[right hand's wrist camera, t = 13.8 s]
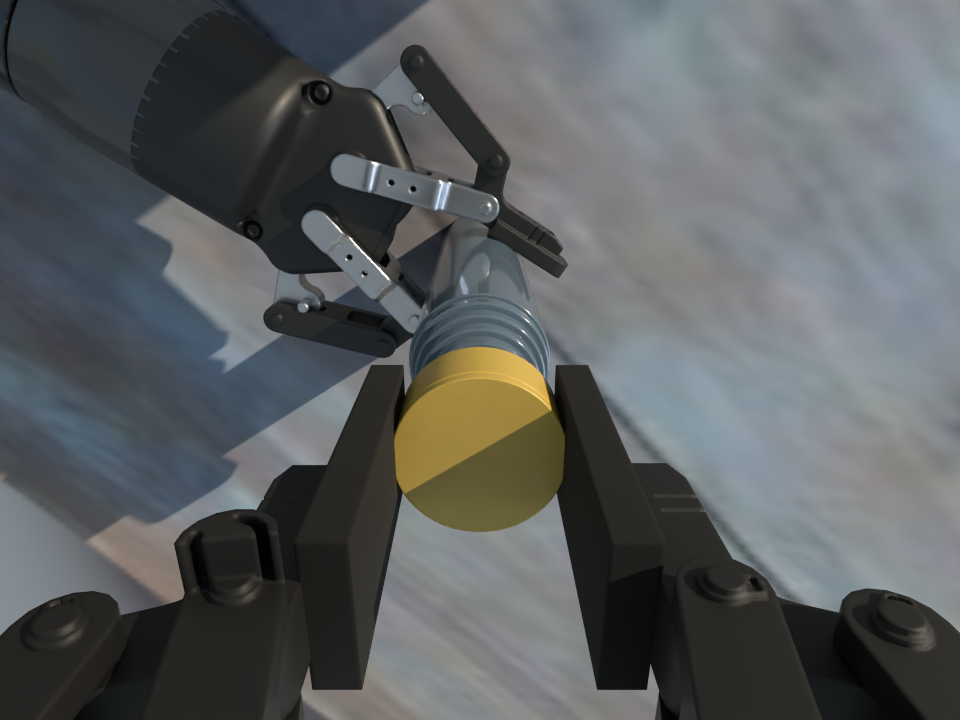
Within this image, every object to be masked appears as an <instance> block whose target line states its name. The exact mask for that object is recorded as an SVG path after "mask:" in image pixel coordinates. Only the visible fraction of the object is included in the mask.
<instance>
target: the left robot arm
mask: <svg viewBox="0 0 960 720" xmlns="http://www.w3.org/2000/svg"><path fill="white" fill-rule="evenodd" d="M0 88H2V89H4V90H5V91H7V92H9V93H10V94H12V95H14V96H16V97H17V98H19V99H21V100H22V101H24V102H26V103H28V104H29V105H31V106H32V107H34V108H35V109H37V110H39V111H40V112H42V113H43V114H44V115H46V116H47V117H49V118H50V119H51V120H52V121H54V122H55V123H56V124H58V125H59V126H60V127H61V128H63V129H64V130H65V131H67V132H68V133H70V134H71V135H72V136H74V137H75V138H76V139H78V140H79V141H81V142H82V143H84V144H86V145H87V146H89V147H90V148H92V149H94V150H95V151H97V152H99V153H100V154H102V155H104V156H106V157H107V158H109V159H111V160H112V161H114V162H116V163H118V164H119V165H121V166H123V167H124V168H126V169H128V170H130V171H131V172H133V173H135V174H136V175H138V176H140V177H141V178H143V179H145V180H147V181H148V182H150V183H152V184H154V185H155V186H157V187H159V188H160V189H162V190H164V191H166V192H167V193H169V194H171V195H172V196H174V197H176V198H177V199H179V200H181V201H183V202H184V203H186V204H188V205H189V206H191V207H193V208H195V209H196V210H198V211H200V212H201V213H203V214H205V215H207V216H208V217H210V218H212V219H213V220H215V221H217V222H218V223H220V224H222V225H224V226H225V227H227V228H229V229H230V230H232V231H234V232H236V233H238V234H240V235H241V236H243V237H245V238H247V239H249V240H251V241H253V242H254V243H256V244H257V245H258V246H259V247H260V248H261V249H262V250H263V251H264V253H265V254H266V255H267V257H268V258H269V260H270V261H271V263H272V264H273V265H274V266H275V267H276V268H277V269H279V271H278V277H277V284H276V291H275V297H274V303H273V305H272V306H270V307H269V308H268V309H267V310H266V311H265V313H264V317H263V318H264V323H265V325H266V326H267V327H268V328H269V329H270V330H272V331H274V332H278V333H282V334H286V335H290V336H294V337H298V338H303V339H307V340H311V341H315V342H319V343H323V344H327V345H331V346H335V347H339V348H343V349H347V350H351V351H356V352H360V353H364V354H368V355H372V356H376V357H380V358H386V357H389V356H391V355H392V354H393V353H394V351H395V349H396V348H398V347H399V346H400V345H402V344H403V343H404V342H406V341H407V340H408V339H410V338H412V337H413V335H414V332H415V329H416V326H417V323H418V319H419V316H420V313H421V310H422V306H423V303H424V300H425V297H426V294H425V293H424V292H423V291H422V290H421V289H420V288H419V286H418V285H417V284H416V283H415V282H414V281H413V280H412V279H411V278H410V277H409V276H408V275H407V274H406V272H405V271H404V269H403V267H402V265H401V264H400V263H399V261H398V260H397V259H396V258H395V257H394V256H393V255H392V254H391V253H390V252H389V251H388V250H387V249H388V248H389V246H390V244H391V243H392V241H393V238H394V234H395V230H396V226H397V224H398V223H399V222H400V221H401V220H402V219H403V218H404V217H405V216H406V215H407V214H408V212H409V211H410V210H411V208H412V206H413V205H416V206H419V207H423V208H426V209H430V210H434V211H442V212H446V213H450V214H453V215H457V216H460V217H464V218H467V219H471V220H474V221H477V222H480V223H482V224H483V225H485V226H486V227H488V234H489V235H490V236H492V237H493V238H495V239H496V240H498V241H500V242H502V243H503V244H505V245H507V246H508V247H509V248H511V249H512V250H514V251H515V252H517V253H518V254H520V255H521V256H523V257H525V258H526V259H528V260H529V261H531V262H532V263H534V264H536V265H537V266H539V267H540V268H542V269H543V270H545V271H547V272H548V273H550V274H551V275H553V276H555V277H557V278H559V277H560V276H561V274H562V273H563V271H564V270H565V269H566V267H567V266H568V264H567V262H566V261H565V259H564V258H563V257H562V256H560V255H559V254H560V253H561V251H562V250H563V247H562V245H561V244H560V242H559V241H558V239H557V238H556V236H555V235H554V233H553V232H551V231H550V230H548V229H547V228H545V227H544V226H542V225H541V224H539V223H538V222H536V221H534V220H533V219H531V218H530V217H528V216H527V215H525V214H524V213H522V212H521V211H519V210H518V209H516V208H515V207H513V206H512V205H510V204H509V203H508V202H507V201H506V200H505V199H504V197H503V187H504V183H505V178H506V174H507V171H508V169H509V167H510V157H509V154H508V153H507V151H506V150H505V149H504V147H503V146H502V145H501V144H500V142H499V141H498V140H497V139H496V137H495V136H494V135H493V133H492V132H491V131H490V130H489V128H488V127H487V126H486V125H485V123H484V122H483V121H482V120H481V118H480V117H479V116H478V114H477V113H476V112H475V111H474V109H473V108H472V107H471V106H470V104H469V103H468V102H467V100H466V99H465V98H464V97H463V95H462V94H461V93H460V92H459V90H458V89H457V88H456V87H455V85H454V84H453V83H452V81H451V80H450V79H449V78H448V76H447V75H446V74H445V73H444V71H443V70H442V69H441V68H440V66H439V65H438V64H437V62H436V61H435V60H434V59H433V57H432V56H431V55H430V54H429V52H428V51H427V50H426V49H425V48H424V47H422V46H419V45H411V46H409V47H407V48H406V49H405V50H404V51H403V53H402V55H401V59H400V64H399V65H397V66H396V67H395V68H394V69H393V70H392V71H391V72H390V73H389V74H388V75H387V76H386V77H385V78H384V79H383V80H382V81H381V82H380V83H379V84H378V85H377V86H376V87H375V88H374V89H373V90H372V91H371V90H367V89H364V88H351V87H346V86H343V85H341V84H339V83H337V82H335V81H334V80H332V79H331V78H329V77H328V76H326V75H325V74H323V73H322V72H320V71H318V70H317V69H315V68H314V67H312V66H311V65H309V64H308V63H306V62H305V61H303V60H302V59H300V58H299V57H297V56H296V55H294V54H293V53H291V52H290V51H288V50H286V49H285V48H283V47H282V46H280V45H279V44H277V43H276V42H274V41H273V40H271V39H270V38H268V37H267V36H265V35H264V34H262V33H261V32H259V31H258V30H256V29H255V28H253V27H252V26H250V25H249V24H247V23H246V22H244V21H242V20H241V19H239V18H238V17H236V16H235V15H233V14H232V13H230V12H229V11H227V10H226V9H225V8H224V7H223V6H222V5H221V4H220V3H219V2H218V1H217V0H0ZM395 106H404V107H406V108H407V109H408V110H409V111H411V112H412V113H414V114H417V115H426V114H428V113H430V112H431V111H432V110H434V111H435V112H436V113H437V114H438V116H439V117H440V118H441V119H442V121H443V122H444V123H445V124H446V126H447V127H448V128H449V129H450V131H451V132H452V133H453V134H454V135H455V137H456V138H457V139H458V140H459V142H460V143H461V144H462V145H463V147H464V148H465V149H466V150H467V152H468V153H469V154H470V155H471V156H472V158H473V159H474V160H475V161H476V163H477V164H478V169H477V174H476V179H475V183H474V184H472V183H469V182H466V181H462V180H459V179H455V178H452V177H450V176H448V175H445V174H442V173H439V172H435V171H432V170H429V169H425V168H422V167H418V166H415V165H413V163H412V161H411V158H410V156H409V154H408V151H407V149H406V146H405V144H404V142H403V139H402V137H401V135H400V132H399V130H398V127H397V125H396V123H395V120H394V118H393V115H392V113H391V111H390V109H392V108H393V107H395ZM364 270H365V271H367V272H368V273H365V272H364ZM343 271H344V272H345V273H346V274H347V275H348V276H349V277H350V278H351V279H352V280H353V281H354V282H355V283H356V284H357V285H358V286H359V287H360V288H361V289H362V290H363V291H364V292H365V293H366V295H367V296H368V297H370V298H371V299H372V300H374V301H376V302H379V303H380V304H381V305H382V306H383V307H384V308H385V309H386V310H387V311H388V312H389V313H390V315H389V316H385V315H381V314H377V313H373V312H369V311H366V310H362V309H358V308H354V307H350V306H346V305H342V304H338V303H334V302H330V301H326V300H325V296H324V294H323V292H322V291H321V290H320V289H319V288H318V287H316V286H313V285H311V284H310V283H309V282H308V281H307V280H306V278H305V275H304V274H311V273H327V272H343Z"/></svg>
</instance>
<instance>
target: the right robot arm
mask: <svg viewBox="0 0 960 720" xmlns="http://www.w3.org/2000/svg"><path fill="white" fill-rule="evenodd" d="M554 396H555V399H556V403H557V407H558V410H559V414H560V418H561V422H562V425H563V429H564V433H565V450H564V467H563V481H562V483H561V485H560V487H559V489H558V491H557V497H558V501H559V506H560V511H561V516H562V521H563V526H564V531H565V536H566V540H567V545H568V550H569V555H570V560H571V565H572V570H573V574H574V579H575V584H576V589H577V594H578V599H579V604H580V608H581V613H582V618H583V623H584V628H585V633H586V638H587V642H588V647H589V652H590V657H591V662H592V667H593V672H594V676H595V681H596V686H597V690H647V685H648V677H649V670H650V663H651V666H652V669H653V673H654V676H655V679H656V682H657V685H658V688H659V696H658V703H657V710H656V717H655V720H960V633H959V632H958V631H957V630H956V629H955V628H954V627H953V626H952V625H951V624H950V623H949V622H948V621H947V620H945V619H944V618H943V617H941V616H940V615H939V614H938V613H936V612H935V611H934V610H932V609H931V608H929V607H927V606H925V605H923V604H921V603H920V602H918V601H916V600H914V599H912V598H910V597H907V596H904V595H901V594H897V593H894V592H891V591H887V590H878V589H862V590H857V591H853V592H850V593H849V594H848V595H847V596H846V597H845V598H844V599H843V600H842V603H841V607H840V611H839V613H838V612H833V611H829V610H824V609H820V608H816V607H811V606H807V605H802V604H798V603H795V602H791V601H788V600H785V599H781V598H779V597H777V596H776V593H775V591H774V590H773V588H772V587H771V585H770V584H769V582H768V581H767V579H765V578H764V577H763V576H762V575H761V574H759V573H758V572H757V571H756V570H754V569H753V568H751V567H749V566H747V565H745V564H743V563H741V562H738V561H736V560H733V559H732V557H731V555H730V554H729V552H728V550H727V549H726V547H725V545H724V543H723V542H722V540H721V538H720V536H719V535H718V533H717V531H716V529H715V528H714V526H713V524H712V523H711V521H710V519H709V517H708V516H707V514H706V512H704V511H703V507H702V505H701V503H700V502H699V500H698V498H696V497H695V493H694V491H693V490H692V488H691V486H690V484H689V483H688V481H687V479H686V478H685V477H684V476H683V475H681V474H680V473H679V472H677V471H676V470H675V469H673V468H672V467H671V466H669V465H668V464H667V463H631V461H630V459H629V457H628V455H627V452H626V450H625V448H624V446H623V443H622V441H621V439H620V436H619V434H618V432H617V430H616V427H615V425H614V423H613V421H612V418H611V416H610V414H609V412H608V409H607V407H606V405H605V403H604V400H603V398H602V396H601V394H600V391H599V389H598V387H597V384H596V382H595V380H594V378H593V375H592V373H591V371H590V369H589V366H588V365H556V374H555V394H554ZM404 397H405V388H404V368H403V365H371V367H370V369H369V372H368V374H367V376H366V378H365V381H364V383H363V385H362V387H361V390H360V392H359V394H358V396H357V399H356V401H355V403H354V405H353V408H352V410H351V412H350V414H349V417H348V419H347V421H346V424H345V426H344V428H343V430H342V433H341V435H340V437H339V439H338V442H337V444H336V446H335V448H334V451H333V453H332V455H331V457H330V460H329V462H328V464H327V465H293V466H291V467H290V468H289V469H287V470H286V471H285V472H283V473H282V474H281V475H279V476H278V477H277V478H276V479H274V480H273V482H272V484H271V486H270V487H269V489H268V491H267V493H266V494H265V496H264V500H262V501H261V503H260V505H259V507H258V508H257V510H254V509H235V510H230V511H225V512H220V513H216V514H213V515H211V516H209V517H206V518H204V519H201V520H199V521H197V522H196V523H194V524H193V525H192V526H190V527H189V528H187V529H186V530H184V531H183V532H182V534H181V535H180V536H179V538H178V539H177V540H176V542H175V543H174V546H175V551H176V555H177V560H178V564H179V569H180V573H181V578H182V582H183V587H184V592H185V594H184V597H183V599H181V600H179V601H177V602H173V603H170V604H167V605H163V606H160V607H155V608H151V609H146V610H142V611H138V612H133V613H129V614H124V615H121V614H120V610H119V607H118V603H117V602H116V601H115V600H114V599H113V598H112V597H111V596H110V595H108V594H104V593H100V592H95V591H89V592H78V593H71V594H68V595H65V596H62V597H59V598H55V599H52V600H50V601H48V602H46V603H44V604H42V605H40V606H38V607H36V608H34V609H32V610H30V611H28V612H27V613H26V614H25V615H23V616H22V617H21V618H20V619H18V620H17V621H16V622H15V623H13V624H12V625H11V626H10V627H9V628H8V629H7V630H6V631H5V632H4V633H3V634H2V635H1V636H0V720H304V710H303V703H302V696H301V689H302V686H303V683H304V680H305V676H306V673H307V670H308V667H309V668H310V675H311V682H312V690H362V688H363V683H364V678H365V673H366V668H367V663H368V658H369V654H370V649H371V644H372V639H373V634H374V629H375V624H376V620H377V615H378V610H379V605H380V600H381V595H382V590H383V586H384V581H385V576H386V571H387V566H388V561H389V556H390V552H391V547H392V542H393V537H394V532H395V527H396V522H397V518H398V513H399V508H400V503H401V498H402V493H403V492H402V490H401V488H400V487H399V485H398V483H397V479H396V462H395V445H394V433H395V430H396V426H397V422H398V419H399V415H400V412H401V408H402V404H403V401H404Z"/></svg>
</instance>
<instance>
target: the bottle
mask: <svg viewBox="0 0 960 720" xmlns="http://www.w3.org/2000/svg"><path fill="white" fill-rule="evenodd" d="M470 347H489V348H496V349H500V350H505V351H507V352H510V353H513V354H515V355H517V356H519V357H521V358H523V359H525V360H526V361H527V362H529V363H530V364H532V365H533V366H534V367H535V368H536V369H537V370H538V371H539V372H540V373H541V374H542V375H543V377H544V378H545V379H546V380H547V382H548V376H549V368H550V349H549V345H548V341H547V337H546V334H545V331H544V328H543V324H542V321H541V318H540V315H539V311H538V308H537V305H536V302H535V299H534V295H533V292H532V289H531V286H530V282H529V279H528V276H527V273H526V269H525V266H524V263H523V260H522V257H521V255H520V254H518V253H517V252H515V251H514V250H512V249H511V248H509V247H508V246H507V245H505V244H503V243H502V242H500V241H498V240H496V239H495V238H493V237H492V236H490V235H489V234H488V227H486V226H485V225H483V224H482V223H480V222H477V221H474V220H471V219H467V218H464V217H461V218H459V219H458V220H456V221H455V222H454V223H453V224H452V225H451V226H450V227H449V229H448V230H447V232H446V234H445V236H444V239H443V242H442V245H441V249H440V252H439V255H438V258H437V261H436V265H435V268H434V271H433V274H432V278H431V281H430V284H429V287H428V290H427V294H426V297H425V300H424V303H423V306H422V310H421V313H420V316H419V319H418V323H417V326H416V329H415V332H414V335H413V339H412V342H411V346H410V354H409V364H410V374H411V380H412V381H413V380H414V378H415V377H416V376H417V374H418V373H419V372H420V371H421V370H422V369H423V368H424V367H425V366H427V365H428V364H429V363H431V362H432V361H433V360H435V359H437V358H438V357H440V356H442V355H444V354H447V353H449V352H452V351H455V350H459V349H463V348H470Z"/></svg>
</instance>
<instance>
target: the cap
mask: <svg viewBox="0 0 960 720" xmlns="http://www.w3.org/2000/svg"><path fill="white" fill-rule="evenodd" d="M394 445H395V462H396V479H397V483H398V485H399V487H400V488H401V490H402V492H403V493H404V495H405V496H406V498H407V499H408V500H409V501H410V502H411V503H412V504H413V506H414V507H415V508H416V509H418V510H419V511H420V512H421V513H423V514H424V515H425V516H427V517H429V518H430V519H432V520H433V521H436V522H438V523H440V524H442V525H445V526H448V527H451V528H454V529H458V530H463V531H472V532H488V531H497V530H501V529H505V528H509V527H512V526H515V525H517V524H520V523H522V522H524V521H526V520H528V519H529V518H531V517H532V516H534V515H535V514H537V513H538V512H539V511H540V510H542V509H543V508H544V507H545V506H546V505H547V504H548V503H549V502H550V501H551V499H552V498H553V497H554V495H555V494H556V492H557V491H558V489H559V487H560V485H561V483H562V481H563V467H564V450H565V433H564V429H563V425H562V422H561V418H560V414H559V410H558V407H557V403H556V399H555V396H554V394H553V391H552V389H551V387H550V385H549V384H548V382H547V380H546V379H545V378H544V377H543V375H542V374H541V373H540V372H539V371H538V370H537V369H536V368H535V367H534V366H533V365H532V364H530V363H529V362H527V361H526V360H525V359H523V358H521V357H519V356H517V355H515V354H513V353H510V352H507V351H505V350H500V349H496V348H489V347H470V348H463V349H459V350H455V351H452V352H449V353H447V354H444V355H442V356H440V357H438V358H437V359H435V360H433V361H432V362H431V363H429V364H428V365H427V366H425V367H424V368H423V369H422V370H421V371H420V372H419V373H418V374H417V376H416V377H415V378H414V380H413V381H412V383H411V384H410V386H409V388H408V390H407V392H406V395H405V397H404V401H403V404H402V408H401V412H400V415H399V419H398V422H397V426H396V430H395V433H394Z"/></svg>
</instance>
